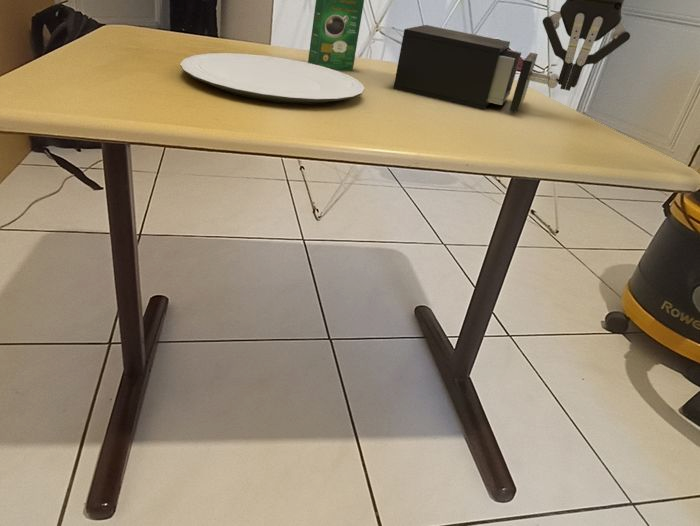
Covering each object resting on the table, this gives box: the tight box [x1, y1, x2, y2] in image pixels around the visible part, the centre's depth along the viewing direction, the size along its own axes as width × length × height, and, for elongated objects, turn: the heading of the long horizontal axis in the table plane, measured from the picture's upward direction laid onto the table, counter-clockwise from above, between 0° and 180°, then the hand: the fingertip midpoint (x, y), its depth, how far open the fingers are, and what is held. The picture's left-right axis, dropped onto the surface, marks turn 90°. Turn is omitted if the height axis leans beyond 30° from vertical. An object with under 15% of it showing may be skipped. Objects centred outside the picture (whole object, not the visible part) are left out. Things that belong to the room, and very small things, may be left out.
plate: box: [179, 52, 365, 105], centre depth 77 cm, size 25×25×2 cm
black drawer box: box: [393, 24, 511, 111], centre depth 90 cm, size 15×14×9 cm
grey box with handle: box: [487, 49, 559, 113], centre depth 88 cm, size 18×12×7 cm
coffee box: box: [307, 0, 365, 72], centre depth 92 cm, size 8×3×13 cm, turn 125°
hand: (565, 89), depth 86 cm, fingers closed
